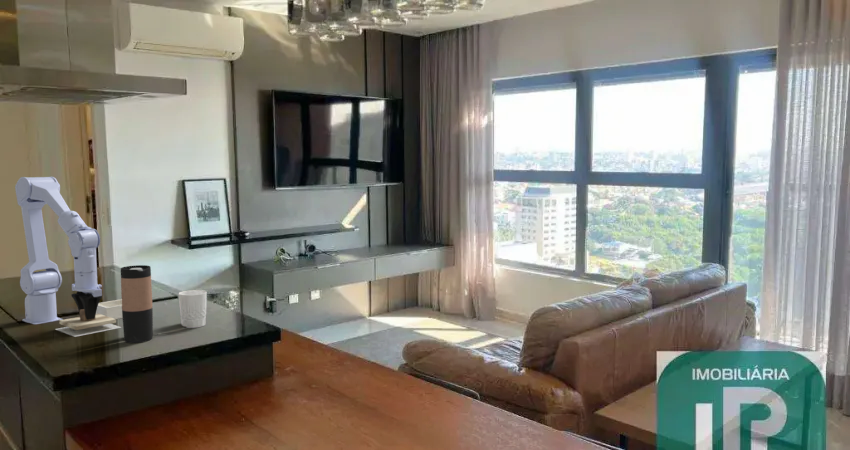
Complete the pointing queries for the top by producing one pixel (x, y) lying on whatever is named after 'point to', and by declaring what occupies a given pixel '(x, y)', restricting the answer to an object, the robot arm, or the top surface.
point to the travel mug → (137, 303)
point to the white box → (110, 309)
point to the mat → (87, 330)
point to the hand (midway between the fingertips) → (87, 317)
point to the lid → (87, 321)
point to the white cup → (193, 308)
